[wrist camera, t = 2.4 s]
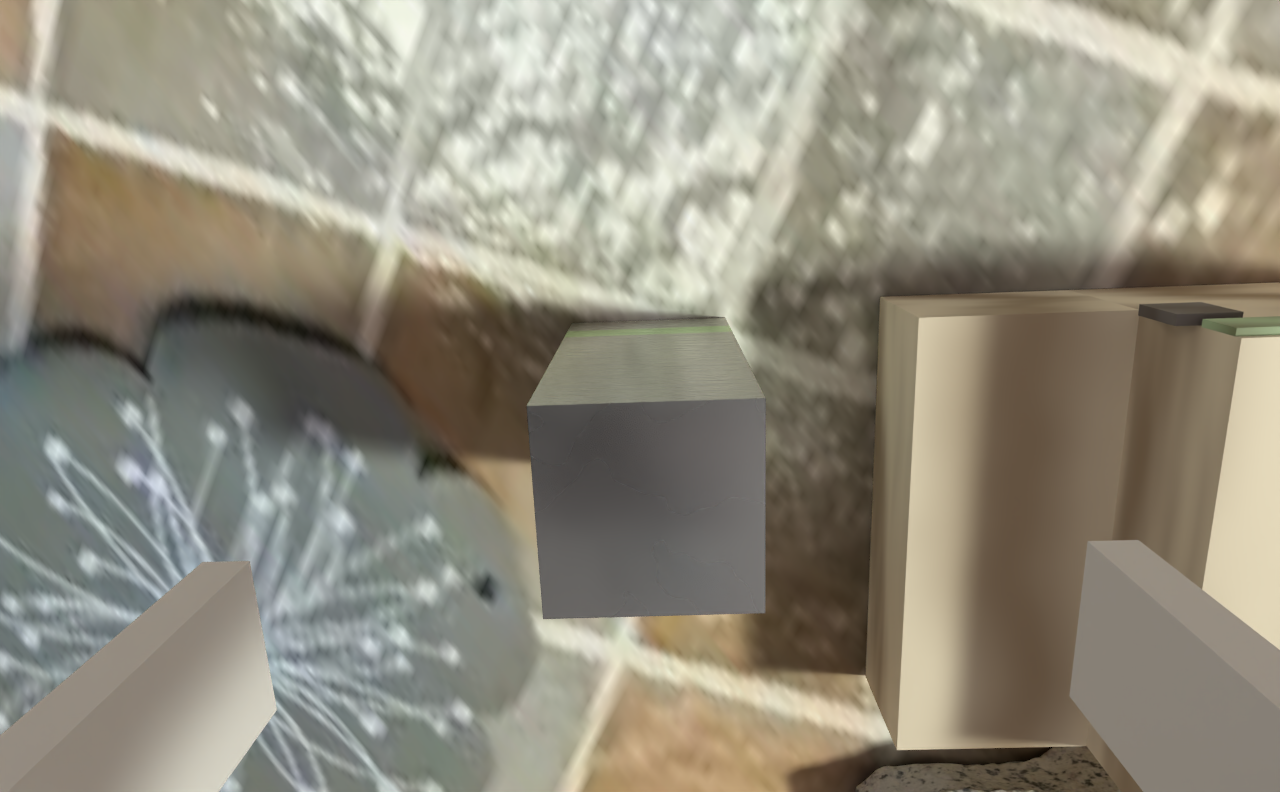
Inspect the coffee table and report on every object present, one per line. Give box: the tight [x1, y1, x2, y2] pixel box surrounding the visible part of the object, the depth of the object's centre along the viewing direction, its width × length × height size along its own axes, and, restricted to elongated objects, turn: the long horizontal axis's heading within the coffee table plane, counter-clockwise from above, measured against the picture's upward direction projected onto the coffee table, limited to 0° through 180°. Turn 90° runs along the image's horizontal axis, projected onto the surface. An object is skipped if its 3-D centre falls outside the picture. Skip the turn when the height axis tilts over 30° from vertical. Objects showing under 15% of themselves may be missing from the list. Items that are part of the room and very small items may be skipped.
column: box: [527, 317, 766, 619], centre depth 23 cm, size 5×5×10 cm
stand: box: [866, 282, 1280, 792], centre depth 24 cm, size 16×14×8 cm
